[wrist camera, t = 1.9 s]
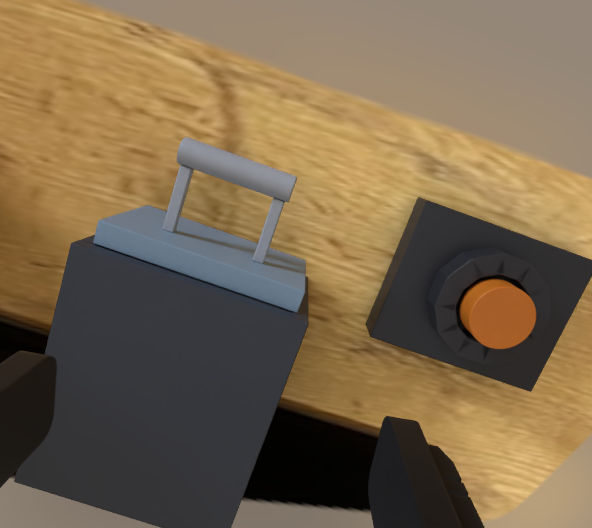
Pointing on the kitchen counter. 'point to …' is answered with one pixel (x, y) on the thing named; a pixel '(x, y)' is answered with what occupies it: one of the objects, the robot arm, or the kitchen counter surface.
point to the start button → (497, 313)
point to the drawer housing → (159, 390)
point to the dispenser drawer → (213, 233)
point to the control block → (464, 274)
